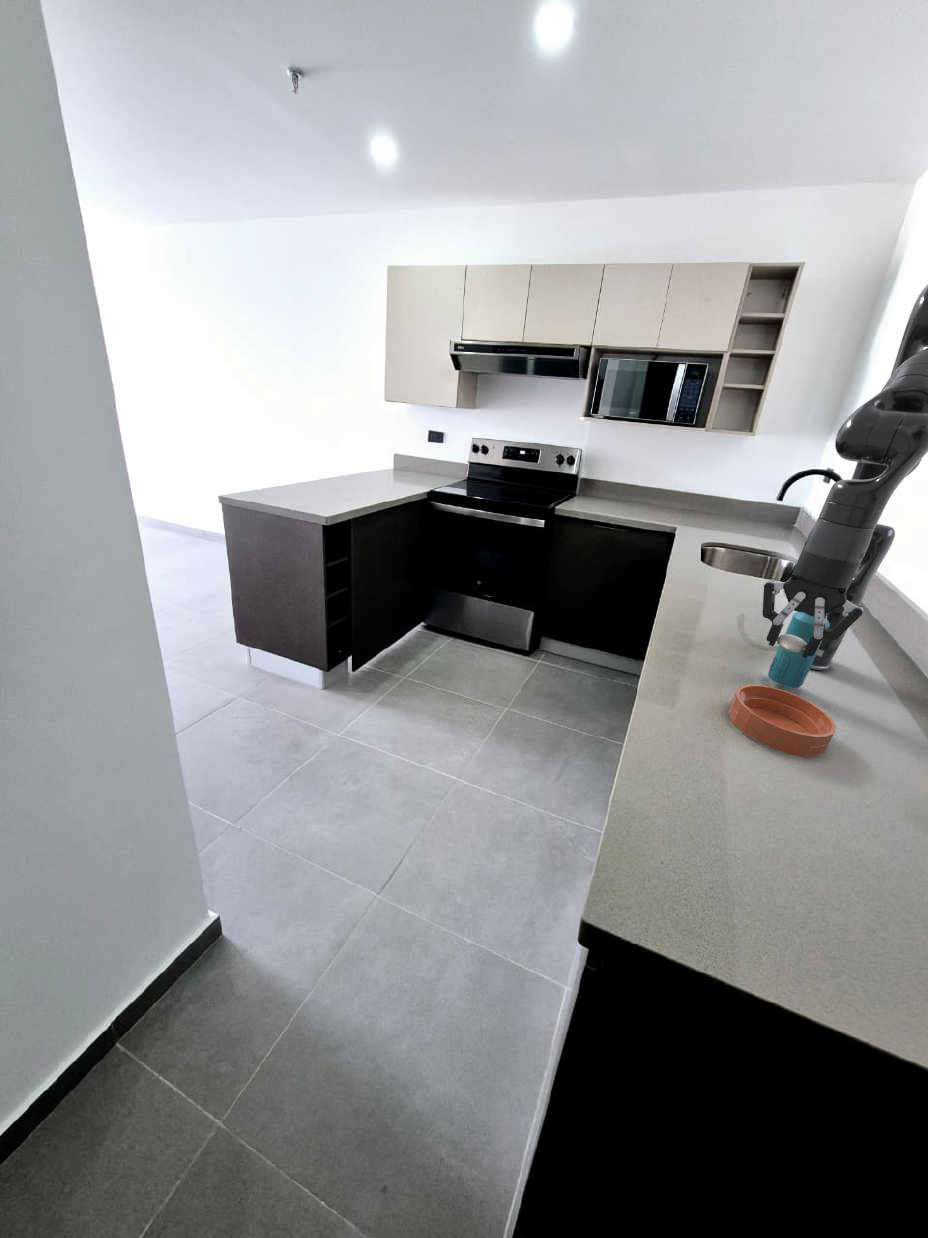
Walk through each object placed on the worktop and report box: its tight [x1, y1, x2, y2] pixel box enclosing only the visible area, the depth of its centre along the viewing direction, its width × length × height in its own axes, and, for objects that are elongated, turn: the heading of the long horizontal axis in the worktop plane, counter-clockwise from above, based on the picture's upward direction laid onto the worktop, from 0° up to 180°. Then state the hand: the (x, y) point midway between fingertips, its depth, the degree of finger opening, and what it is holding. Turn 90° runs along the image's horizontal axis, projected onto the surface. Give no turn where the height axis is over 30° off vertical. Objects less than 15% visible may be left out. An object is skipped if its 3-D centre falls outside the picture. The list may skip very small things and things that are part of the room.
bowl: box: [728, 684, 837, 758], centre depth 85 cm, size 15×15×4 cm
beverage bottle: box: [767, 611, 830, 689], centre depth 97 cm, size 6×7×20 cm
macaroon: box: [776, 634, 807, 653], centre depth 80 cm, size 4×5×2 cm
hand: (788, 649), depth 81 cm, fingers closed on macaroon, 4 cm apart
